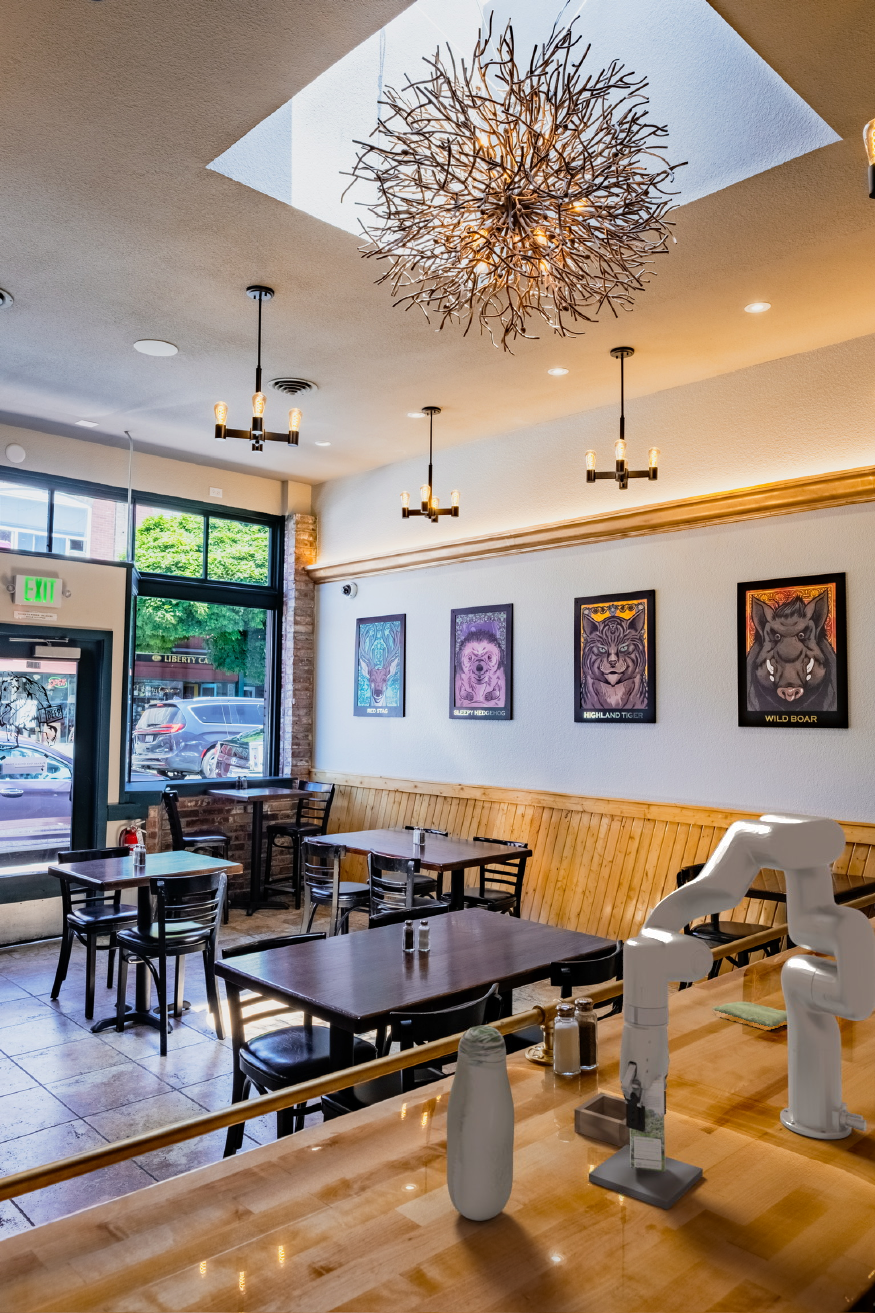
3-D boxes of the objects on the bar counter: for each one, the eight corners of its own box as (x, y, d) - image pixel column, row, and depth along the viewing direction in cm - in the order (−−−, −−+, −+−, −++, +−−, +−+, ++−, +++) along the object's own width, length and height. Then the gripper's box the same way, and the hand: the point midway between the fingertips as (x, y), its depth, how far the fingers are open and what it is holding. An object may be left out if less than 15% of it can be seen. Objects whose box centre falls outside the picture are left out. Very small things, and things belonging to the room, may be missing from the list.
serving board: (702, 1176, 153) (702, 1168, 153) (667, 1210, 142) (667, 1202, 142) (627, 1151, 161) (627, 1144, 161) (588, 1181, 150) (588, 1173, 150)
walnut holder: (650, 1128, 171) (650, 1106, 171) (625, 1148, 162) (625, 1125, 163) (601, 1113, 177) (601, 1092, 177) (574, 1131, 169) (574, 1109, 169)
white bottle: (493, 1239, 133) (495, 1043, 135) (434, 1218, 138) (437, 1030, 140) (523, 1209, 141) (524, 1025, 143) (467, 1191, 147) (469, 1014, 149)
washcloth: (738, 1008, 247) (738, 996, 248) (798, 1025, 233) (797, 1012, 234) (709, 1016, 239) (709, 1004, 240) (769, 1035, 225) (769, 1022, 226)
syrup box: (664, 1158, 154) (662, 1069, 155) (665, 1173, 148) (663, 1080, 150) (630, 1155, 155) (629, 1066, 157) (630, 1170, 149) (628, 1078, 151)
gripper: (647, 997, 163) (648, 1099, 161) (601, 1021, 149) (601, 1132, 148) (687, 1005, 158) (688, 1110, 157) (643, 1031, 145) (644, 1146, 143)
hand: (646, 1120), depth 152 cm, fingers closed on syrup box, 7 cm apart
